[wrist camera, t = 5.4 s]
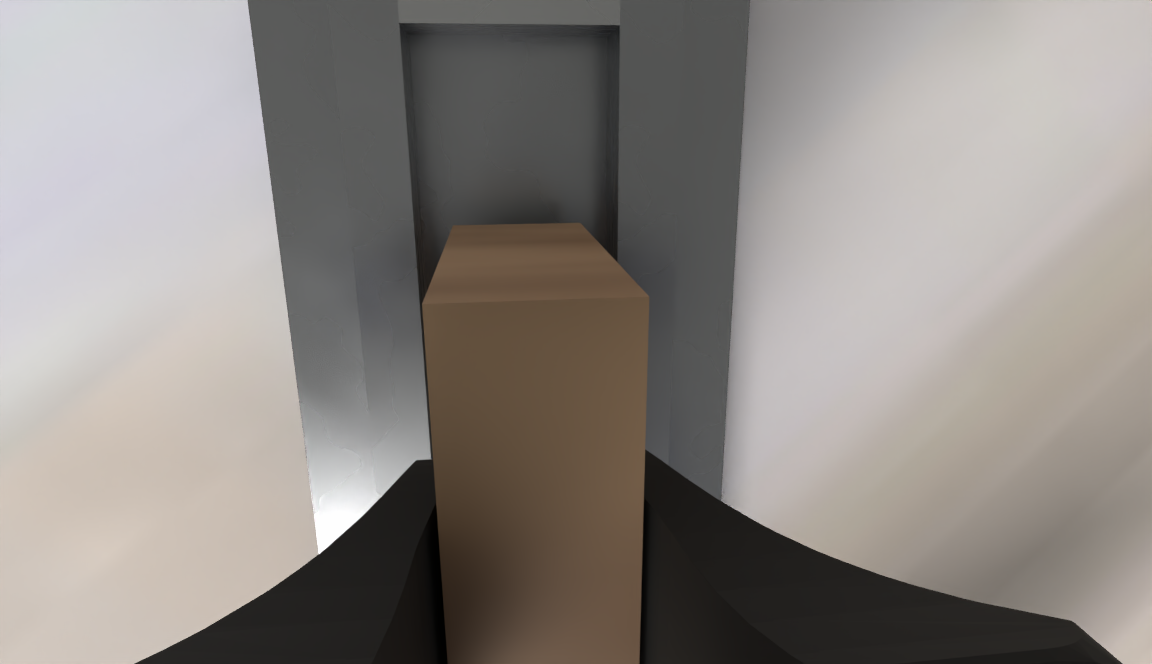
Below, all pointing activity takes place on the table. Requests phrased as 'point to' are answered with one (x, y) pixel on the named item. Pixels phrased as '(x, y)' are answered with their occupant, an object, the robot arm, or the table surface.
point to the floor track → (494, 197)
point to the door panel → (537, 444)
